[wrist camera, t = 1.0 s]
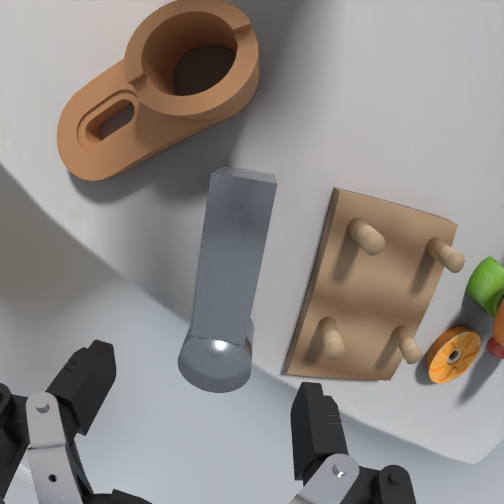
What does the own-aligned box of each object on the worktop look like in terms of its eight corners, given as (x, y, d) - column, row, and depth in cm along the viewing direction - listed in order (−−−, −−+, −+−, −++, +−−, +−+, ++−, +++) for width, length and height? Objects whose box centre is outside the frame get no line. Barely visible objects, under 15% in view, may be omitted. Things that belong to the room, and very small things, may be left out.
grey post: (211, 164, 23) (195, 170, 17) (286, 177, 23) (293, 187, 17) (190, 345, 29) (177, 385, 24) (247, 355, 29) (244, 397, 24)
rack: (333, 187, 23) (355, 200, 17) (446, 219, 23) (483, 238, 18) (285, 361, 29) (289, 403, 24) (385, 369, 30) (401, 405, 24)
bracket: (234, 18, 19) (224, -21, 12) (276, 98, 21) (281, 80, 15) (63, 118, 22) (15, 117, 15) (93, 192, 24) (48, 209, 18)
